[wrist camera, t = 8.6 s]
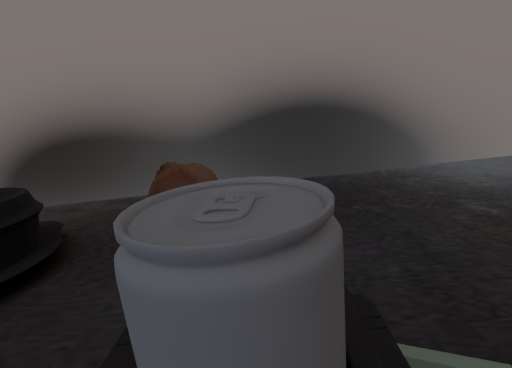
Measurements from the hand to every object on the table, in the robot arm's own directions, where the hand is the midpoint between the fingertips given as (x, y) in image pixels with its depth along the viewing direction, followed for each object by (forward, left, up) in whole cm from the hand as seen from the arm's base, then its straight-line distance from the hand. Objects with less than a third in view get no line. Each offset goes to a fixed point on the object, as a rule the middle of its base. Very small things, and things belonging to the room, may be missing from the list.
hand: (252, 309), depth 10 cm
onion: (-19, +23, -7) cm, 30 cm away
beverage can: (+1, -2, -7) cm, 8 cm away
